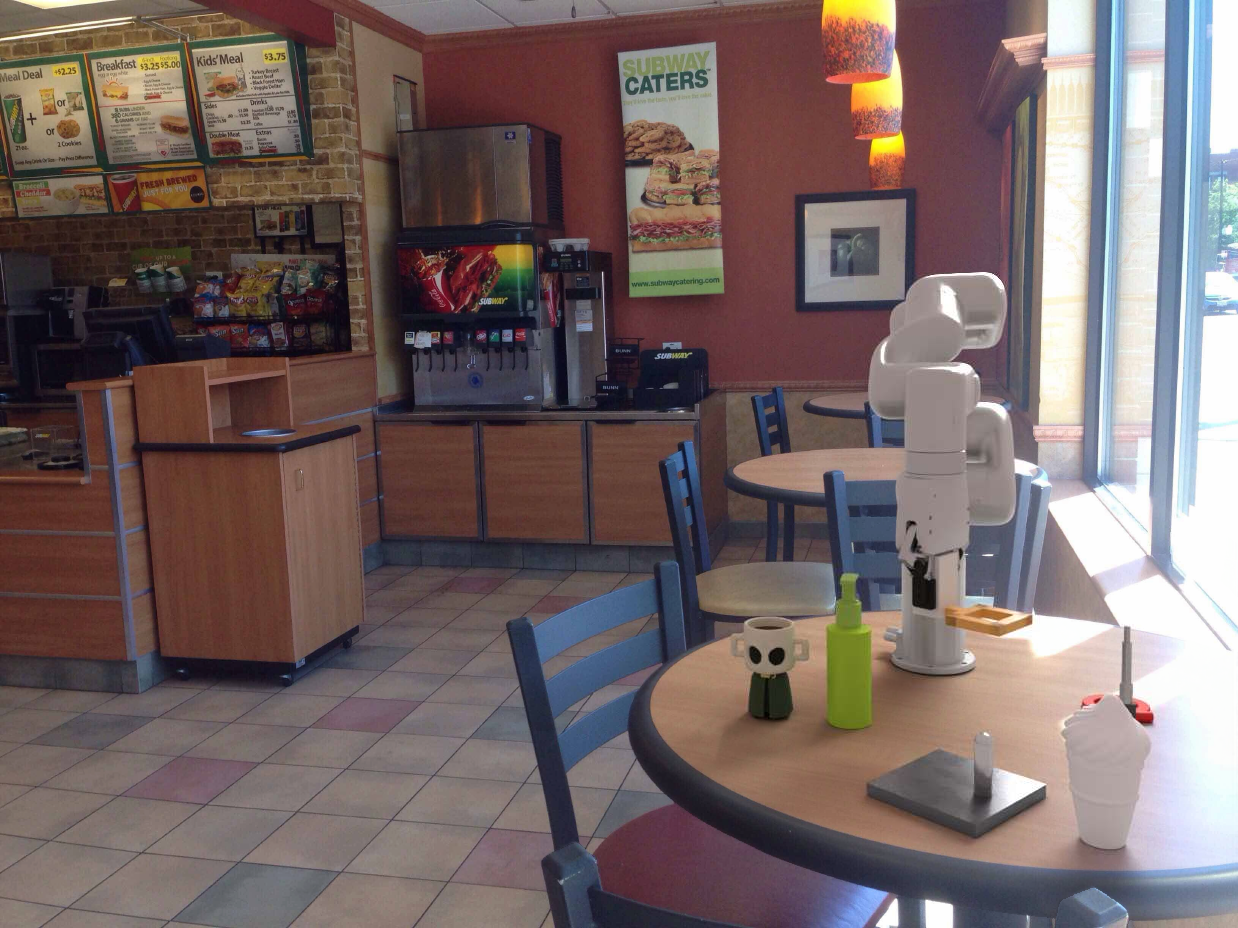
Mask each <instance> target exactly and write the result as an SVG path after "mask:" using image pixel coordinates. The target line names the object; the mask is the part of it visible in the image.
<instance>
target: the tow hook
mask: <svg viewBox="0 0 1238 928" xmlns="http://www.w3.org/2000/svg"><path fill="white" fill-rule="evenodd" d="M1132 655H1133V642H1132V641H1131V626H1130V625H1123V640H1122V641H1121V675H1120V676H1121V679H1120V680H1121V681H1120V683H1119V692H1118V693H1119V694H1115V695H1116V696H1117V697H1118V698H1119V699H1120V700H1121V701H1122V702H1123V703H1124V705H1125V707H1126V708H1127V709H1128V711H1129V712H1130V713H1131V715H1132V717H1133V718H1134V719H1135V720H1137V721H1138V722H1139V723H1142V722H1143V723H1153V722H1154V718H1155V715H1154V713H1153V711H1152V710H1151V705H1150V704H1148V703H1147V702H1146V701H1144V700H1142V699H1139V698H1135V697H1134V689H1133V688H1134V684H1133V683H1132V666H1133V665H1132V664H1133V663H1132V658H1133V656H1132ZM1105 694H1106V693H1103V694H1092V695H1088V696H1084V698H1083V699H1081V705H1082V706H1081V708H1082V707H1083V706H1089V705H1090V704H1097V703H1098V702H1099V701H1100V700H1101V698H1102V697H1103V696H1104V695H1105Z"/></svg>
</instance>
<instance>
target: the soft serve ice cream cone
mask: <svg viewBox="0 0 1238 928" xmlns="http://www.w3.org/2000/svg"><path fill="white" fill-rule="evenodd" d="M1104 694H1105V695H1104V696H1103V697H1102V698H1101V700H1100V701H1099V702H1098V703H1097V704H1090V705H1089V706H1083V707H1082V706H1081V709H1077V710H1075V711H1074V712H1073V714H1072V716H1071V717H1069V718H1067V719H1066V720H1064V723H1063V725H1064V726H1065V728H1063V729H1062V730H1061V732H1060V735H1061V736H1062V738H1063V739H1064V746H1065V747H1066V753H1065V755H1066V756H1065V757H1066V759H1067V761H1068V773H1069V774H1068V775H1069V782H1068V788H1069V791H1070V792H1071V798H1072V801H1073V809H1074V813H1075V816H1076V822H1077V827H1078V834H1079V836H1080V839H1081V841H1082V842H1084V844H1087V845H1089V846H1090V847H1094V848H1097V849H1100V850H1101V849H1102V850H1119V849H1122V848H1123V847H1124V846H1125V845H1126V843H1127V839H1128V835H1129V831H1130V828H1131V824H1132V819H1133V816H1134V812H1135V809H1136V805H1137V802H1138V801H1139V799H1140V796H1141V793H1140V784H1141V777H1142V771H1143V769H1144V767H1145V760H1146V758H1148V756H1149V754H1150V751H1151V747H1152V741H1151V736H1150V734H1149V733H1148V731H1147V729H1146V728H1145V727H1144V726H1143V725H1142V724H1141V722H1138V721H1137V720H1135V719H1134V718H1133V717H1132V715H1131V713H1130V712H1129V711H1128V709H1127V708H1126V707H1125V705H1124V703H1123V702H1122V701H1121V700H1120V699H1119V698H1118V697H1117V696H1116V695H1117V694H1113V693H1110V692H1106V693H1104Z"/></svg>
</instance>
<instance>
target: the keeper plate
mask: <svg viewBox="0 0 1238 928" xmlns="http://www.w3.org/2000/svg"><path fill="white" fill-rule="evenodd" d="M973 741H974V742H973V759H971V758H968V757H964V756H962V755H958V754H956V753H952V752H950V751H946V750H943V749H940V748H938V749H935V750H933V751H931V752H929V753H927V754H925V755H922V756H920V757H918V758H917V759H914V760H912V761H910V762H908V763H906V764H903V765H902V766H899V767H896V769H895V768H894V770H891V771H889V772H887V773H884V774H882V775H880V776H878V777H877V778H874V779H873V780H870V781H868V782H867V783H866V796H868V797H871V798H873V799H876V800H878V801H880V802H883V803H885V804H887V805H891V806H893V807H895V808H899V809H901V810H903V811H906V812H908V813H911V814H914V815H916V816H919V817H921V818H923V819H926V820H929V821H932V822H933V823H936V824H939V825H941V826H944V827H947V828H949V829H951V830H954V831H957V832H959V833H962V834H965V835H967V836H970V837H972V838H974V839H977V838H978V837H980V836H982V835H984V834H985V833H988V832H989V831H991V830H992V829H994V828H995V827H998V826H1000V825H1001V824H1003V823H1005V822H1006V821H1007V820H1010V819H1011V818H1012V817H1015V816H1016V815H1018V814H1019V813H1021V812H1023V811H1026V809H1028V808H1030V807H1032V806H1033V805H1035V804H1037V803H1038V802H1040V801H1042V800H1043V799H1045V798H1047V784H1046V783H1043V782H1041V781H1037V780H1036V779H1035V780H1034V779H1031V778H1029V777H1025V776H1023V775H1019V774H1017V773H1014V772H1010V771H1007V770H1004V769H1002V768H998V767H995V766H994V738H993V737H992V735H991V734H989V732H985V731H983V732H982V731H981V732H978V733H977V734H976V735H975V737H974V740H973Z"/></svg>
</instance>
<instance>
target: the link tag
mask: <svg viewBox="0 0 1238 928" xmlns="http://www.w3.org/2000/svg"><path fill="white" fill-rule="evenodd" d="M921 551H922V550H920V551H919V553H922V552H921ZM919 560H920V561H921V562H922V563H923V564H924V566H925V560H926V559H923V558H920V559H919ZM932 579H936V608H935V609H934V610H927V609H923V608H918V607H914V606H913V613H914V614H919V615H923V616H928V617H933V618H937V619H941V618H944V617H945V625H949V626H953V627H958V628H962V629H965V630H968V631H972V632H976V633H981V634H986V635H990V636H993V637H994V636H995V637H998V638H1000V637H1002V636H1005V635H1007V634H1010V633H1013V632H1015V631H1017V630H1021V629H1023V628H1027V627H1028V626H1031V625H1033V614H1031V613H1026V612H1021V611H1016V610H1010V609H1006V608H1001V607H996V606H992V605H991V606H990V605H986V604H981V603H977V604H975V605H974V604H973V605H971V606H970V607H969V606H967V607H965V608H961V607H957V601H958V552H955V551H948V552H945V553H941V554H937V555H935V560H934V569H933V577H932ZM987 619H988V620H987ZM992 620H993V621H992Z"/></svg>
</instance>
